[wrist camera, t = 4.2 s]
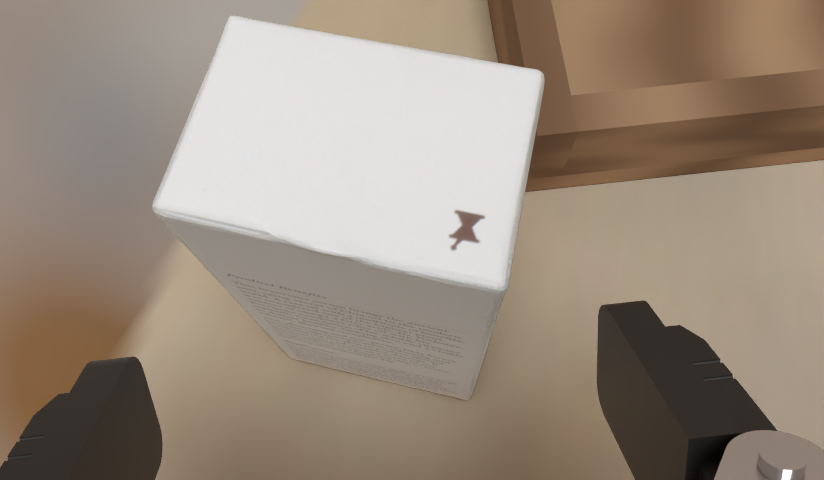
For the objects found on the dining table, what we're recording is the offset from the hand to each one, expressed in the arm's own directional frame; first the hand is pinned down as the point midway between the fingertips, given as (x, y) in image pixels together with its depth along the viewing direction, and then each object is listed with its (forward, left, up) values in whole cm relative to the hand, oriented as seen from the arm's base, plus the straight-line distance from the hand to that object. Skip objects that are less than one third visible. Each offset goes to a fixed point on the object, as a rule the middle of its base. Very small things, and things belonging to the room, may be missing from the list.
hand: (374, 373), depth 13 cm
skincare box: (0, -4, -10) cm, 11 cm away
